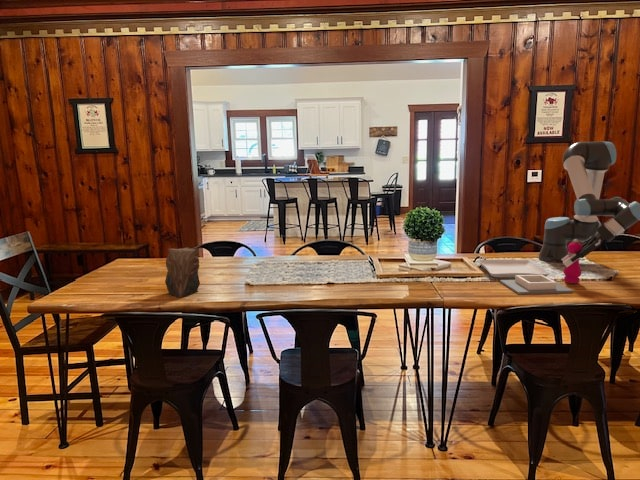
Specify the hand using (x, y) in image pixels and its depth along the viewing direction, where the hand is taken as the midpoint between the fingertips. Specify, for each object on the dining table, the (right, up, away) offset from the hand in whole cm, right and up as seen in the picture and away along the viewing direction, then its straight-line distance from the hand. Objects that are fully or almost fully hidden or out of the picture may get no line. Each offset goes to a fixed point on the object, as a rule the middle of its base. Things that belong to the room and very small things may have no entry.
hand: (564, 263), depth 212 cm
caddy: (-16, -11, -5) cm, 20 cm away
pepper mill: (+4, -9, 0) cm, 9 cm away
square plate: (-17, -6, +19) cm, 26 cm away
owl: (-174, -13, -8) cm, 175 cm away
